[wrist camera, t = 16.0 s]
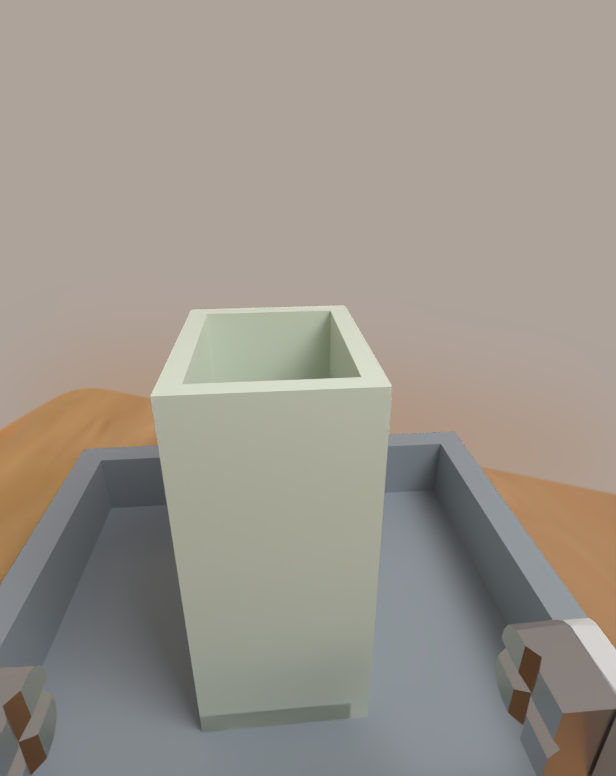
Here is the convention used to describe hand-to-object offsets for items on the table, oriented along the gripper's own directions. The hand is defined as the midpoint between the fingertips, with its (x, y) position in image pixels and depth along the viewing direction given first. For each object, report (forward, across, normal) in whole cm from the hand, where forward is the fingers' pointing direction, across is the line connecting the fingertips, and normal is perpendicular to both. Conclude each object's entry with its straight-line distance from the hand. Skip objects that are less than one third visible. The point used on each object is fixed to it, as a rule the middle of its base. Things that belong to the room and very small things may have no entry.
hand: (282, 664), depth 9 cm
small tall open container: (+8, 0, +8) cm, 11 cm away
